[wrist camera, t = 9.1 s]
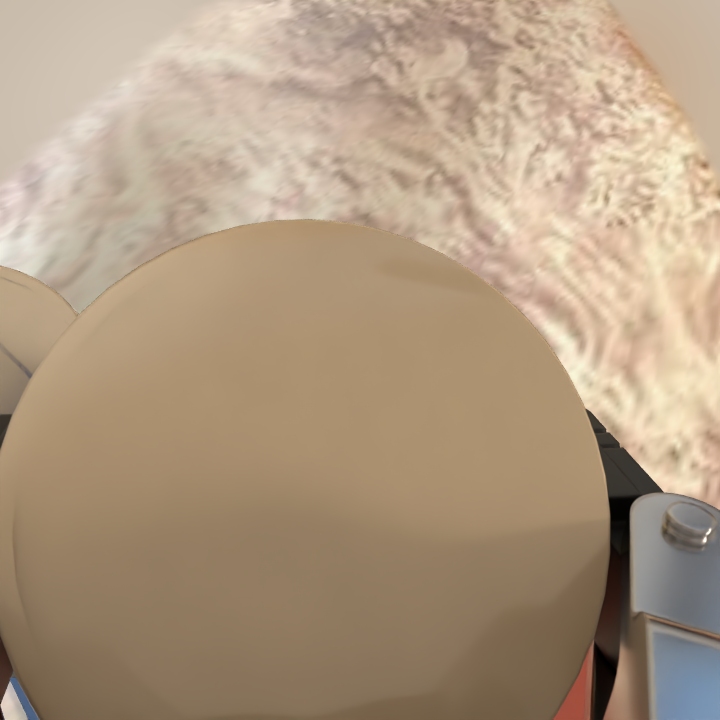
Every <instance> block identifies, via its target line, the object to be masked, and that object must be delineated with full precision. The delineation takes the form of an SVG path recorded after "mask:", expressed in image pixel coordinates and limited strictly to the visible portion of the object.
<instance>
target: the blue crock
mask: <svg viewBox="0 0 720 720" xmlns="http://www.w3.org/2000/svg"><path fill="white" fill-rule="evenodd" d="M77 316H78V314H77V312H76V311H75V310H74V309H73V308H72V307H71V306H70V305H69V303H68V302H67V301H66V300H65V299H64V298H63V297H61V296H60V295H59V294H58V293H57V292H55V291H54V290H53V289H52V288H50V287H49V286H47V285H46V284H44V283H42V282H41V281H39V280H37V279H36V278H33V277H31V276H29V275H27V274H24V273H22V272H20V271H17V270H13V269H10V268H7V267H4V266H0V414H13V413H14V411H15V409H16V407H17V405H18V403H19V401H20V399H21V397H22V395H23V393H24V390H25V388H26V386H27V384H28V382H29V380H30V378H31V377H32V375H33V374H34V372H35V371H36V369H37V368H38V366H39V365H40V363H41V362H42V360H43V359H44V357H45V356H46V354H47V353H48V351H49V350H50V348H51V347H52V345H53V344H54V343H55V342H56V341H57V339H58V338H59V337H60V336H61V335H62V334H63V332H64V331H65V330H66V329H67V328H68V327H69V325H70V324H71V323H72V322H73V321H74V320H75V318H76V317H77Z"/></svg>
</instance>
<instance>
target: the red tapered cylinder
mask: <svg viewBox="0 0 720 720" xmlns="http://www.w3.org/2000/svg"><path fill="white" fill-rule="evenodd" d="M609 560H610V509H609V500H608V492H607V484H606V476H605V472H604V468H603V464H602V459H601V455H600V451H599V447H598V443H597V439H596V436H595V434H594V431H593V428H592V426H591V423H590V420H589V417H588V415H587V412H586V409H585V407H584V404H583V402H582V400H581V398H580V396H579V394H578V392H577V390H576V388H575V387H574V385H573V383H572V381H571V379H570V377H569V375H568V373H567V371H566V370H565V368H564V367H563V365H562V364H561V362H560V361H559V359H558V358H557V356H556V355H555V353H554V352H553V350H552V348H551V347H550V345H549V344H548V342H547V341H546V340H545V339H544V338H543V337H542V335H541V334H540V333H539V332H538V331H537V329H536V328H535V327H534V326H533V325H532V323H531V322H530V321H529V320H528V319H527V317H526V316H525V315H524V314H523V313H522V312H521V311H520V310H519V309H517V308H516V307H515V306H514V305H513V304H512V303H511V302H510V301H509V300H508V299H507V298H506V297H505V296H504V295H503V294H502V293H501V292H500V291H498V290H497V289H496V288H494V287H493V286H492V285H490V284H489V283H488V282H486V281H485V280H484V279H482V278H481V277H480V276H478V275H477V274H476V273H474V272H473V271H472V270H470V269H468V268H467V267H465V266H463V265H461V264H460V263H458V262H456V261H455V260H453V259H451V258H450V257H448V256H446V255H445V254H443V253H441V252H439V251H436V250H434V249H432V248H430V247H427V246H425V245H423V244H421V243H418V242H416V241H414V240H412V239H409V238H406V237H403V236H399V235H396V234H393V233H390V232H387V231H384V230H381V229H377V228H372V227H367V226H362V225H357V224H352V223H347V222H337V221H325V220H313V219H304V220H275V221H268V222H261V223H255V224H248V225H241V226H237V227H233V228H229V229H226V230H222V231H218V232H215V233H211V234H207V235H204V236H202V237H199V238H197V239H194V240H192V241H189V242H187V243H184V244H182V245H179V246H177V247H174V248H172V249H170V250H168V251H166V252H164V253H162V254H161V255H159V256H157V257H155V258H153V259H151V260H149V261H148V262H146V263H144V264H142V265H140V266H138V267H137V268H136V269H134V270H133V271H131V272H130V273H129V274H127V275H126V276H124V277H123V278H122V279H120V280H119V281H117V282H116V283H115V284H113V285H112V286H110V287H109V288H108V289H106V290H105V291H104V292H103V293H102V294H101V295H100V296H99V297H98V298H97V299H95V300H94V301H93V302H92V303H91V304H90V305H89V306H88V307H87V308H86V309H84V310H83V311H82V312H81V313H80V314H79V315H78V316H77V317H76V318H75V320H74V321H73V322H72V323H71V324H70V325H69V327H68V328H67V329H66V330H65V331H64V332H63V334H62V335H61V336H60V337H59V338H58V339H57V341H56V342H55V343H54V344H53V345H52V347H51V348H50V350H49V351H48V353H47V354H46V356H45V357H44V359H43V360H42V362H41V363H40V365H39V366H38V368H37V369H36V371H35V372H34V374H33V375H32V377H31V378H30V380H29V382H28V384H27V386H26V388H25V390H24V393H23V395H22V397H21V399H20V401H19V403H18V405H17V407H16V409H15V411H14V413H13V415H12V417H11V420H10V423H9V426H8V429H7V432H6V435H5V437H4V440H3V443H2V446H1V449H0V637H1V640H2V643H3V645H4V648H5V650H6V653H7V656H8V658H9V661H10V664H11V666H12V669H13V671H14V674H15V677H16V679H17V681H18V683H19V685H20V687H21V688H22V690H23V692H24V694H25V695H26V697H27V699H28V701H29V702H30V704H31V706H32V708H33V709H34V711H35V713H36V715H37V717H38V718H39V720H553V718H554V717H555V716H556V714H557V713H558V712H559V710H560V708H561V706H562V705H563V703H564V701H565V699H566V697H567V696H568V694H569V692H570V690H571V688H572V687H573V685H574V683H575V681H576V679H577V678H578V676H579V674H580V671H581V669H582V666H583V664H584V661H585V659H586V656H587V654H588V651H589V649H590V646H591V644H592V641H593V639H594V636H595V633H596V629H597V625H598V621H599V617H600V613H601V609H602V605H603V601H604V597H605V592H606V584H607V576H608V568H609Z"/></svg>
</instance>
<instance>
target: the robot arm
mask: <svg viewBox="0 0 720 720" xmlns="http://www.w3.org/2000/svg"><path fill="white" fill-rule="evenodd" d="M586 412H587V415H588V417H589V420H590V423H591V426H592V428H593V431H594V434H595V436H596V439H597V443H598V447H599V451H600V455H601V459H602V464H603V468H604V472H605V476H606V484H607V492H608V500H609V509H610V560H609V568H608V576H607V584H606V592H605V597H604V601H603V605H602V609H601V613H600V617H599V621H598V625H597V629H596V633H595V636H594V639H593V641H592V644H591V646H590V649H589V653H588V658H587V672H586V687H585V703H584V718H583V720H720V510H718V509H717V508H715V507H713V506H711V505H709V504H707V503H705V502H702V501H700V500H697V499H694V498H691V497H688V496H684V495H679V494H674V493H664V492H663V491H662V490H661V488H660V487H659V486H658V485H657V484H656V483H655V482H654V481H653V480H652V479H651V477H650V476H649V475H648V474H647V473H646V472H645V471H644V470H643V469H642V468H641V467H640V465H639V464H638V463H637V462H636V461H635V460H634V459H633V458H632V457H631V456H630V455H629V453H628V452H627V451H626V450H625V449H624V448H623V447H622V448H620V446H619V442H618V441H617V440H616V439H615V438H614V437H613V436H612V435H611V434H610V433H606V428H605V427H604V426H603V425H602V424H601V423H600V422H599V421H598V419H597V418H596V417H595V416H594V415H593V414H592V413H591V412H590V411H589V410H587V409H586ZM12 415H13V414H0V449H1V446H2V443H3V440H4V437H5V435H6V432H7V429H8V426H9V423H10V420H11V417H12ZM13 677H15V674H14V671H13V669H12V666H11V664H10V661H9V658H8V656H7V653H6V650H5V648H4V645H3V643H2V640H1V637H0V704H1V702H2V699H3V696H4V694H5V691H6V689H7V686H8V684H9V681H10V678H13ZM0 720H5V719H4V716H3V713H2V709H1V706H0Z"/></svg>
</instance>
